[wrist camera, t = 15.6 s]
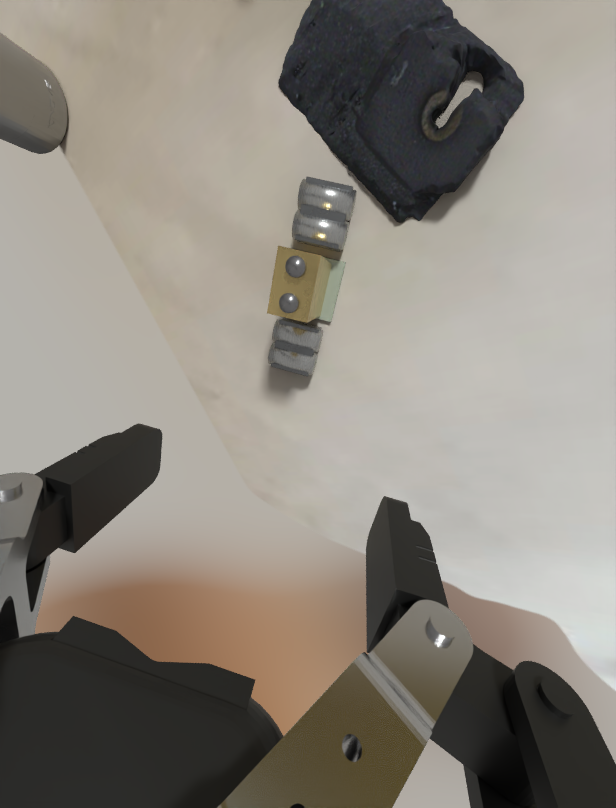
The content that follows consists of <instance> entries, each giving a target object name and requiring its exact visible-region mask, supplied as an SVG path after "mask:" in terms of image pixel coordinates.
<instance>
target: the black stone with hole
mask: <svg viewBox="0 0 616 808" xmlns="http://www.w3.org/2000/svg"><path fill="white" fill-rule="evenodd" d="M469 71H477V72H480V73H481V74H482V76H483V79H484V89H483V92H482V93H481V92H480V91H479V89H477V88H475V89H474V90H473V92H472V93H471V95H470V96H469V97H467V98H465V99H464V100H463V101H462V102H461V103H460V104H459V105H458V106H457V107H456V109H455V110H454V111H453V112H452V114H451V115H450V117H449V119H448V121H447V123H446V124H445V125H444V126H443V127H441V128H438V126H437V125H436V124H435V121H436V119H437V118H440V117H439V116H440V115H441V113H442V110H445V109H446V108H447V106H448V105H449V103H450V102H451V100H452V99H453V97H454V95H455V93H456V91H457V89H458V87H459V85H460V84H461V82H462V80H463V79H464V77H465V76H466V74H467V72H469ZM278 84H279V86H280V88H281V90H282V91H283V93H284V94H286V95H287V97H288V99H289V101H290V102H291V104H292V105H293V106H294V107H296V108H297V109H298V110H299V111H300V112H301V113H303V114H304V115H305V116H306V118H307V121H308V122H309V124H311V125H312V126H313V128H314V130H315V131H316V132H317V133H319V134H320V136H321V137H322V139H323V140H324V141H325V143H326V144H327V145H328V146H329V147H330V149H331V150H332V151H333V152H334V153H335V154H336V155H337V157H338V158H339V159H340V160H341V161H342V162H343V163H344V164H346V165H347V166H348V169H349V170H350V171H352V172H353V173H354V175H355V176H356V177H357V179H358V180H360V181H361V182H362V183H363V184H364V185H365V186H366V188H367V189H368V190H369V191H370V192H371V193H372V194H373V195H374V196H375V197H376V198H377V200H378V201H379V202H380V203H381V204H382V205H383V206H384V208H385V209H386V211H387V212H388V213H389V214H391V215H392V216H393V217H394V219H395V220H396V221H397V222H399V223H401V222H404V221H405V219H406V218H408V217H414V218H416V219H417V220H418V221H420V220H421V219H422V218H423V216H424V215H425V214H426V212H427V211H428V210H429V209H430V208H431V207H432V206H433V205H434V204H435V202H436V201H437V200H438V199H439V198H440V197H441V196H442V194H443V193H449V192H455V190H456V189H457V188H458V187H459V186H460V185H461V183H462V182H463V181H464V179H465V178H466V177H467V176H468V174H469V173H470V172H471V171H472V169H473V168H474V167H475V166H476V165H477V164H478V163H479V161H480V160H481V159H482V158H483V157H484V156H485V154H486V153H487V152H488V151H489V150H490V149H491V148H492V147H493V146H494V145H495V143H496V142H497V141H498V140H499V139H500V136H501V134H502V133H503V131H504V126H505V125H506V124H507V123H508V121H509V117H510V116H511V115H512V114H513V113H514V112H515V111H516V110H517V108H518V105H520V104H521V103H522V102H523V100H524V87H523V82H522V81H521V80H520V79H519V78H518V77H517V74H516V72H515V70H514V69H513V68H512V66H511V65H510V64H508V63H507V62H505V61H504V60H503V59H502V58H501V57H500V56H499V55H498V54H497V53H496V52H495V51H494V50H493V49H492V48H491V47H490V46H488V45H486V44H485V43H484V42H483V41H482V40H480V39H479V38H478V37H477V36H475V35H474V34H473V33H472V32H471V31H469V30H468V29H467V28H466V27H463V26H461V25H460V24H459V22H458V20H457V19H454V18H453V11H452V10H451V8H450V7H448V6H446V5H445V4H444V2H443V1H442V0H312V1H311V3H310V6H309V7H308V8H307V10H306V11H305V13H304V15H303V17H302V19H301V22H300V26H299V28H298V30H297V32H296V35H295V39H294V42H293V44H292V45H291V46H290V48H289V50H288V52H287V54H286V57H285V61H284V64H283V70H282V73H281V76H280V79H279V83H278Z"/></svg>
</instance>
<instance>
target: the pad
mask: <svg viewBox="0 0 616 808" xmlns="http://www.w3.org/2000/svg"><path fill="white" fill-rule="evenodd" d="M324 258H325V257H324ZM325 259H326V260H327V261H328V262H329V263H331V264H332V266H331V271H330V275H329V280H328V284H327V289H326V293H325V298H324V302H323V307H322V311H321V315H320V316H319V317H317V319H321V320H325V321H329V322H331V320H332V316H333V312H334V308H335V304H336V300H337V296H338V292H339V288H340V284H341V280H342V276H343V272H344V267H345V263H346V262H342V261H337V260H333V259H329V258H325Z"/></svg>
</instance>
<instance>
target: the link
mask: <svg viewBox="0 0 616 808" xmlns="http://www.w3.org/2000/svg"><path fill="white" fill-rule="evenodd" d="M331 266H332V264H331V263H329V262H328V261H327V260H326V259H325V258H324V257H322V256H321V255H317V254H313V253H308V252H304V251H299V250H295V249H291V248H286V247H282V246H278V250H277V256H276V263H275V269H274V275H273V281H272V287H271V293H270V299H269V305H268V311H267V313H269V314H273V315H277V316H281V317H285V318H289V319H293V320H297V321H301V322H306V323H308V322H310V321H311V320H313V319H315V318H317V317H319V316H320V315H321V311H322V307H323V302H324V298H325V293H326V289H327V284H328V280H329V275H330V271H331Z"/></svg>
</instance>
